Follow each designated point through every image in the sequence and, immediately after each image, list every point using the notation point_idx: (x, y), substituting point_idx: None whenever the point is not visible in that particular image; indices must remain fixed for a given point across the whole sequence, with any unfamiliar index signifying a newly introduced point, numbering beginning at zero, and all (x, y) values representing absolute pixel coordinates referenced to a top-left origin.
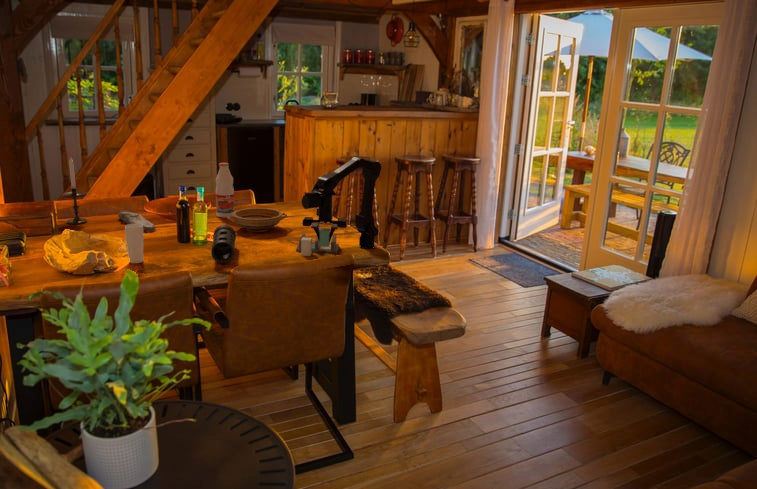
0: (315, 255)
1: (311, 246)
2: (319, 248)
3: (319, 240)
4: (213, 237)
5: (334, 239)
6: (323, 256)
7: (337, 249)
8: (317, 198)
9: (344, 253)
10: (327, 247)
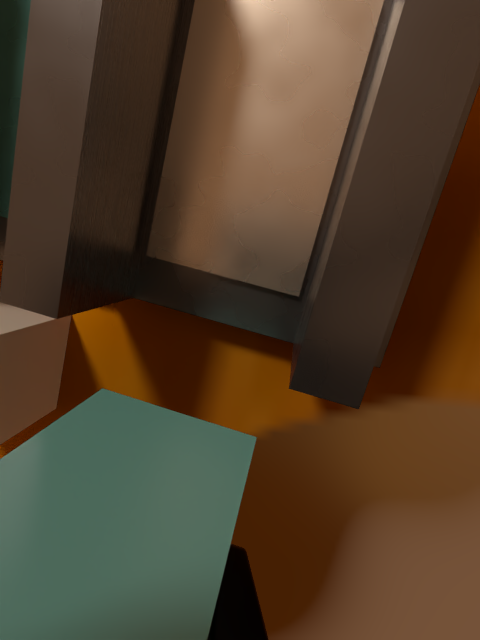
0: None
1: (1, 355)
2: (151, 242)
3: None
4: None
5: (412, 199)
6: None
7: (406, 288)
8: None
9: (476, 379)
10: (269, 199)
